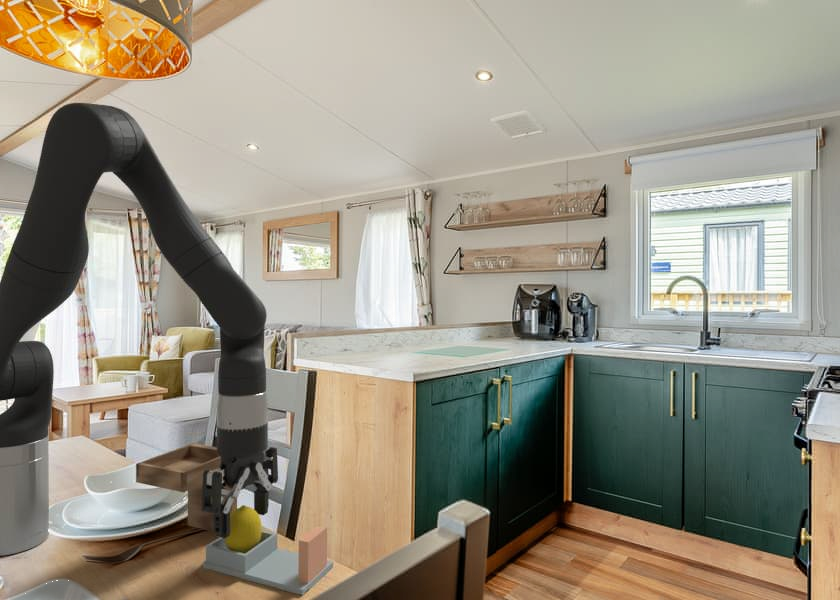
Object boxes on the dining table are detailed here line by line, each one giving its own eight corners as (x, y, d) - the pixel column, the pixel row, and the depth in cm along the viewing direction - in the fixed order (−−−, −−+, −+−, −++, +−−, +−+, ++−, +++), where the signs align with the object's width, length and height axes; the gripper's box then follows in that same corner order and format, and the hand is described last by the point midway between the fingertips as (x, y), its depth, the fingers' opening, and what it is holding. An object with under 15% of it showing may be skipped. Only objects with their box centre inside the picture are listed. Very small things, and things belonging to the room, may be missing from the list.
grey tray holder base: (203, 567, 79) (203, 523, 79) (239, 543, 87) (239, 503, 87) (302, 595, 73) (303, 547, 72) (333, 566, 80) (333, 523, 80)
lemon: (238, 569, 77) (239, 516, 77) (216, 558, 81) (217, 507, 80) (269, 554, 82) (269, 504, 82) (246, 543, 85) (247, 495, 85)
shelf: (136, 553, 83) (136, 463, 83) (192, 522, 94) (193, 443, 94) (183, 566, 80) (183, 472, 79) (236, 533, 90) (237, 450, 90)
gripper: (228, 435, 72) (228, 550, 73) (290, 413, 86) (290, 510, 86) (187, 429, 75) (188, 540, 76) (254, 408, 89) (254, 503, 89)
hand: (242, 524), depth 81 cm, fingers open, 8 cm apart
